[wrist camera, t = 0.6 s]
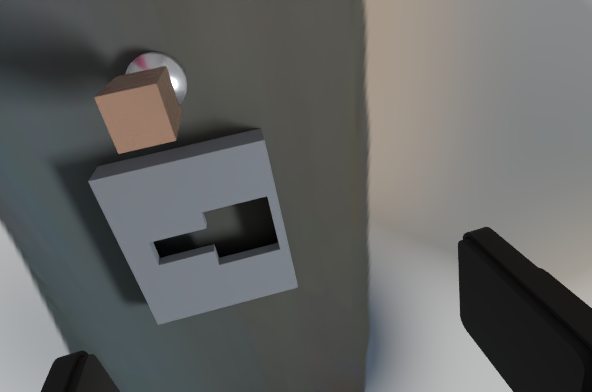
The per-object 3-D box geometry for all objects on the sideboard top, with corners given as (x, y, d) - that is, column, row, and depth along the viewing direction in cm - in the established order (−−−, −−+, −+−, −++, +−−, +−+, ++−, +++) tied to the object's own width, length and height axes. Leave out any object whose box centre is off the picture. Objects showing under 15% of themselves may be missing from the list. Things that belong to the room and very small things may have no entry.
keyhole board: (97, 166, 36) (88, 181, 33) (260, 128, 37) (264, 139, 34) (161, 303, 44) (158, 324, 41) (292, 268, 45) (298, 287, 43)
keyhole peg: (118, 58, 32) (79, 89, 23) (177, 45, 33) (163, 70, 23) (139, 115, 35) (112, 164, 25) (194, 102, 35) (188, 147, 25)
